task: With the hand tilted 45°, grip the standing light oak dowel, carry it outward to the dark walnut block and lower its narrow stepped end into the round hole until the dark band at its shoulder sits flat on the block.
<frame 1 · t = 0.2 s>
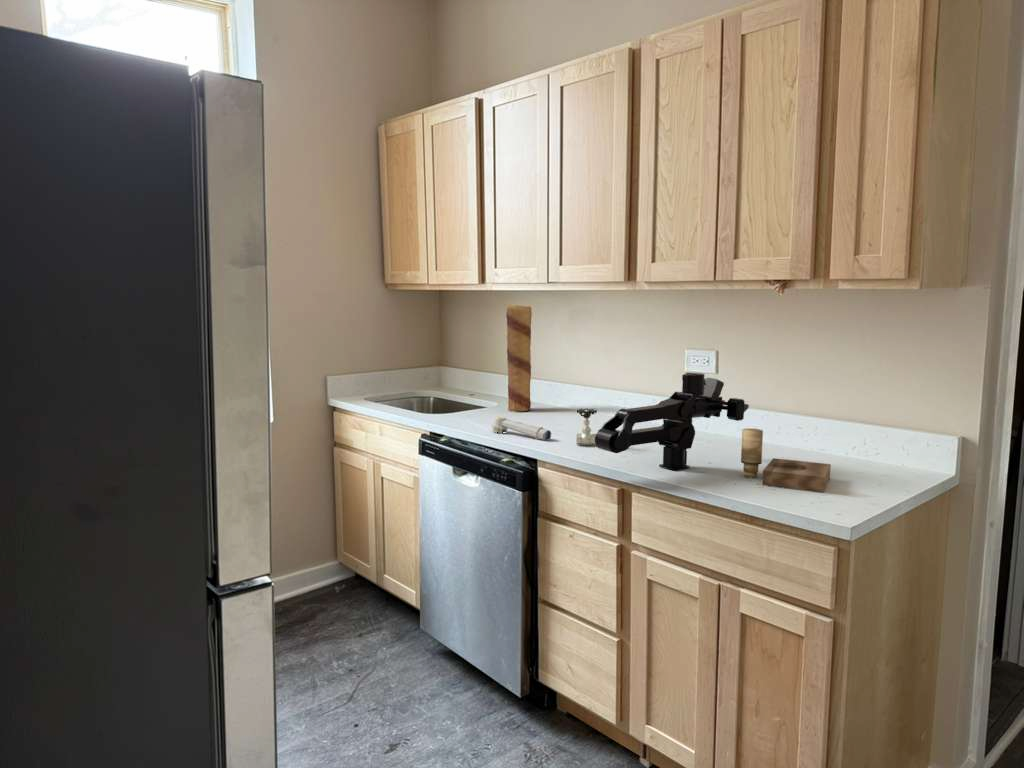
hand: (736, 404, 221), 17 cm above the counter, tool horizontal, fingers open, 9 cm apart
off-white plastic cylinder: (520, 437, 257), on the counter
wafer roll: (518, 410, 312), on the counter
seat block: (788, 480, 195), on the counter
valve: (586, 446, 241), on the counter
dowel: (750, 476, 200), on the counter
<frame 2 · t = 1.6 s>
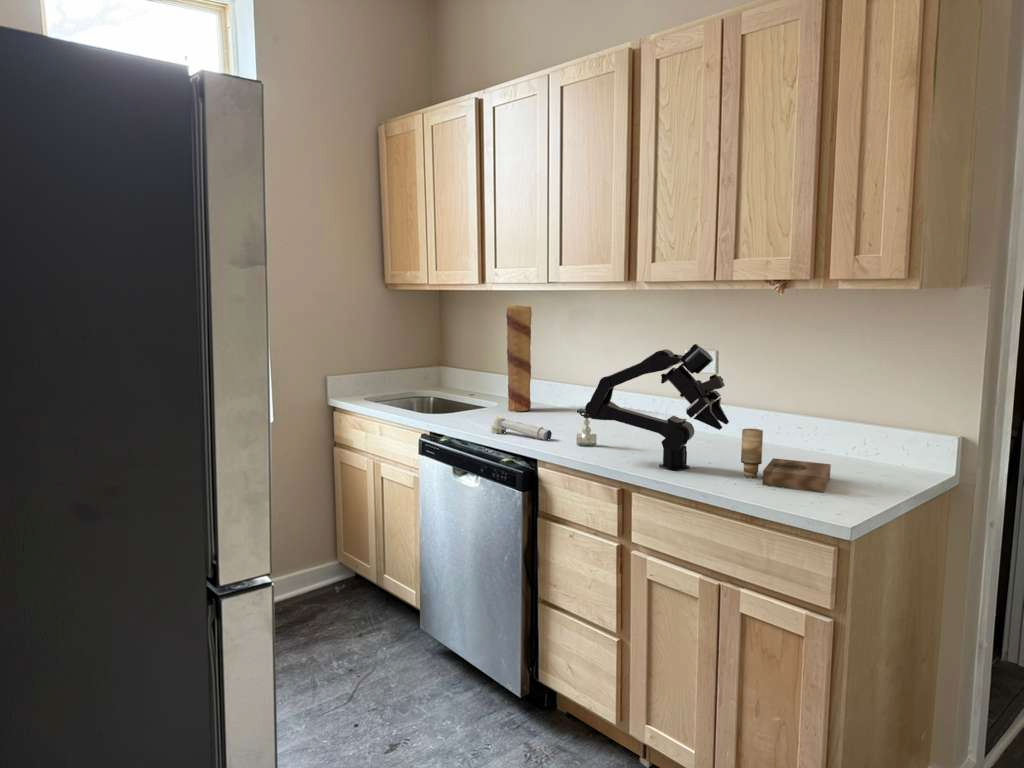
hand: (724, 426, 202), 13 cm above the counter, tool tilted 45°, fingers open, 9 cm apart
nothing on the counter moved.
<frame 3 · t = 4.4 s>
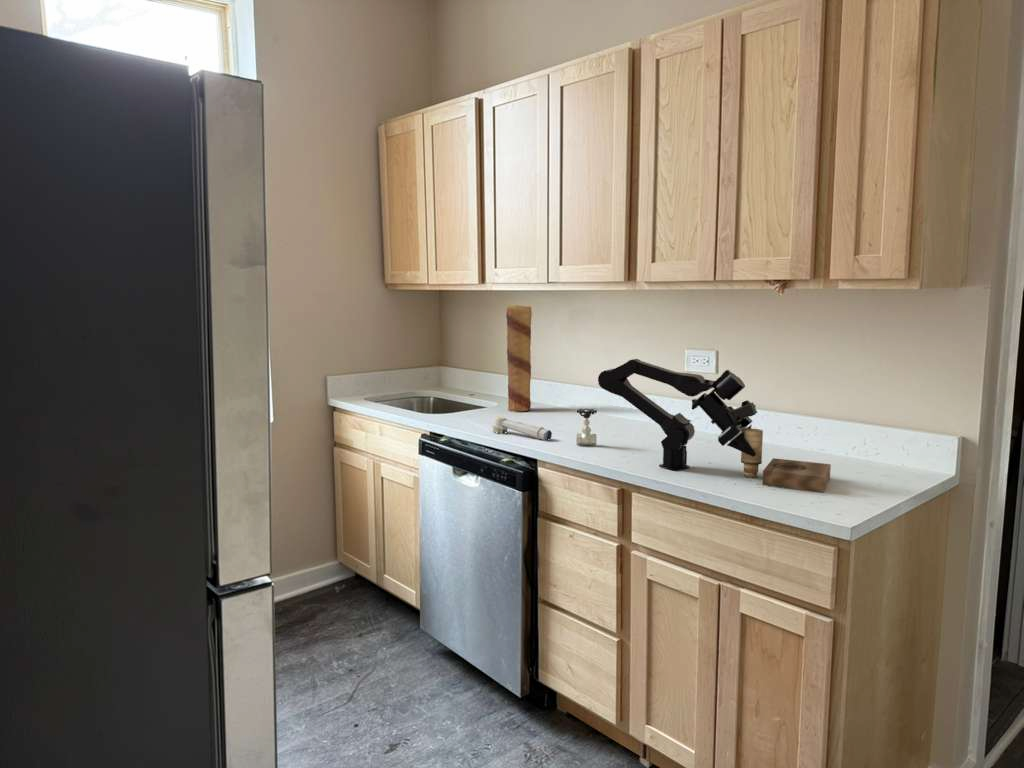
hand: (756, 453, 198), 7 cm above the counter, tool tilted 45°, fingers closed on dowel, 5 cm apart
dowel: (750, 476, 200), on the counter, touching gripper
everything else where it was.
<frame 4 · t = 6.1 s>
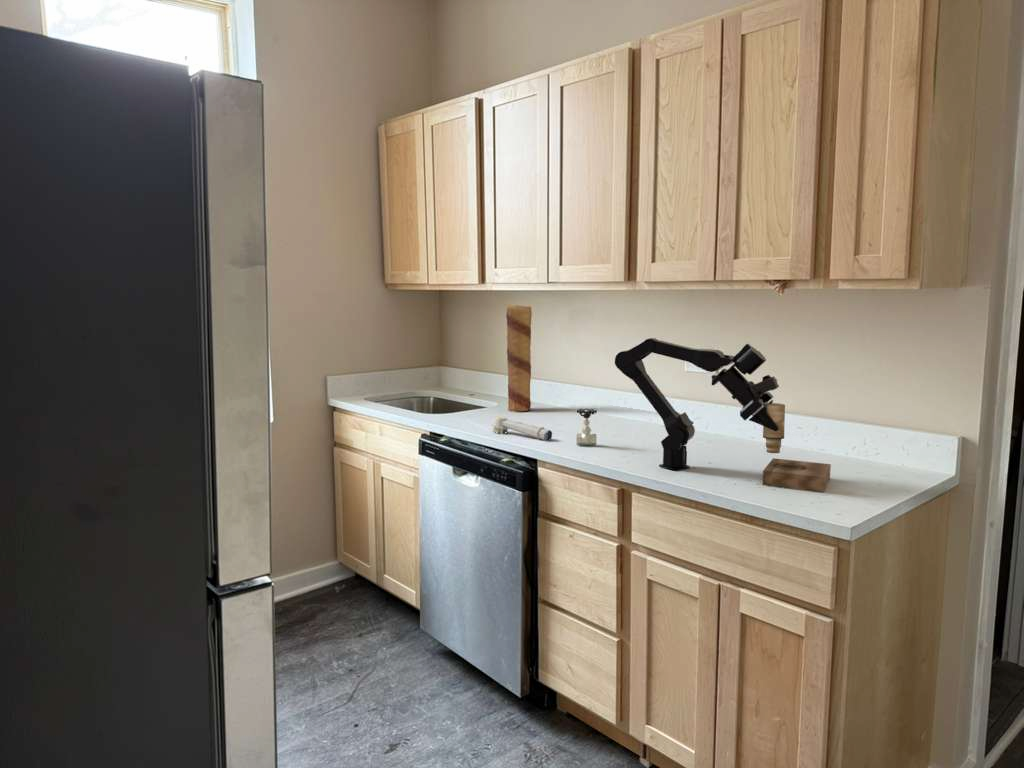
hand: (779, 428, 195), 14 cm above the counter, tool tilted 45°, fingers closed on dowel, 5 cm apart
dowel: (773, 451, 196), point 8 cm above the counter, touching gripper
everything else where it was.
when the fingers open (7 cm above the counter, at t = 8.3 s): dowel stays where it is, resting on seat block.
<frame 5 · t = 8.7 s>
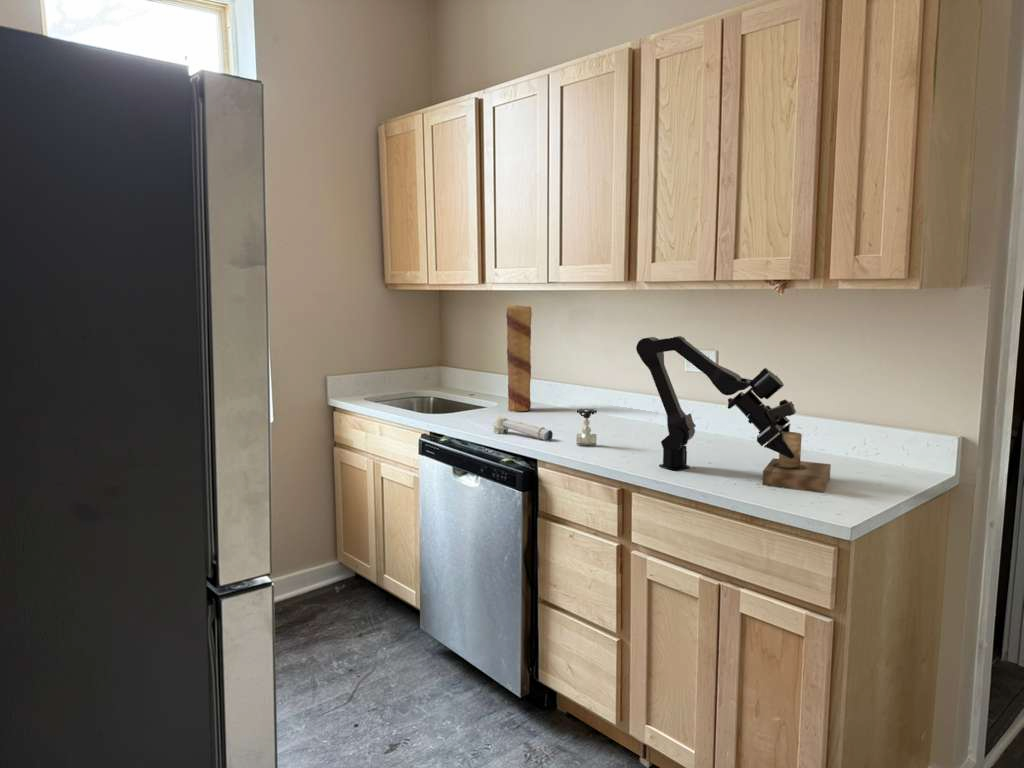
hand: (795, 454, 193), 8 cm above the counter, tool tilted 45°, fingers open, 9 cm apart
dowel: (788, 480, 195), resting on seat block
everything else where it was.
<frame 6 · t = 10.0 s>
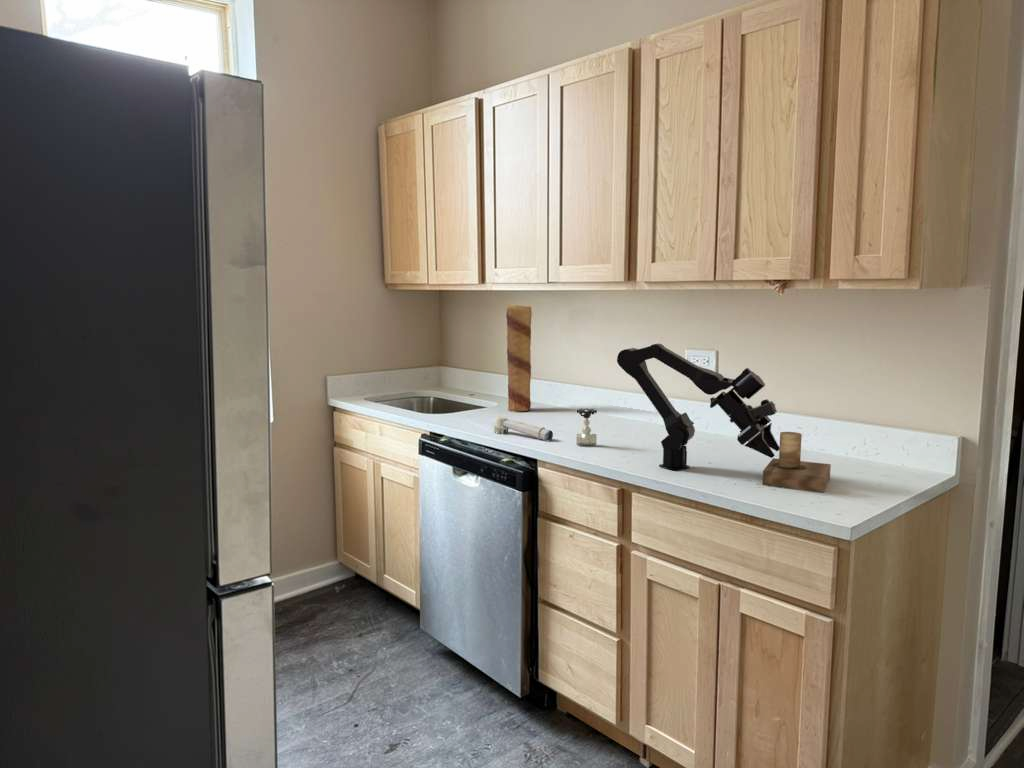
hand: (775, 453, 196), 7 cm above the counter, tool tilted 45°, fingers open, 9 cm apart
nothing on the counter moved.
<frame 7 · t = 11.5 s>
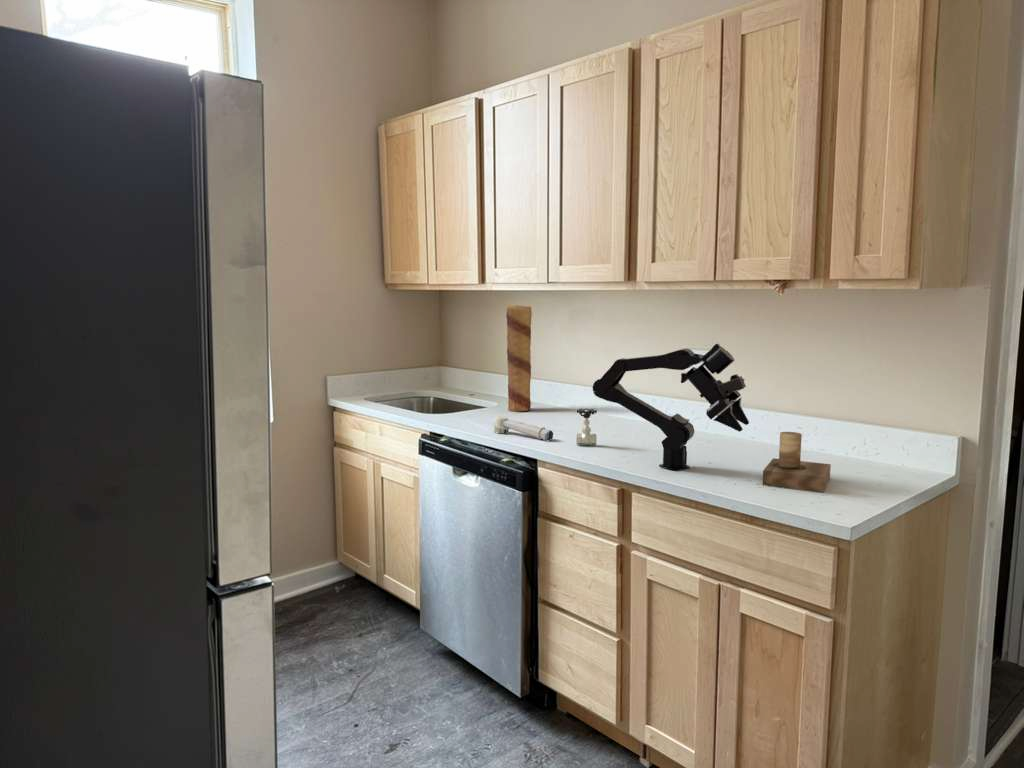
hand: (744, 427, 200), 14 cm above the counter, tool tilted 45°, fingers open, 9 cm apart
nothing on the counter moved.
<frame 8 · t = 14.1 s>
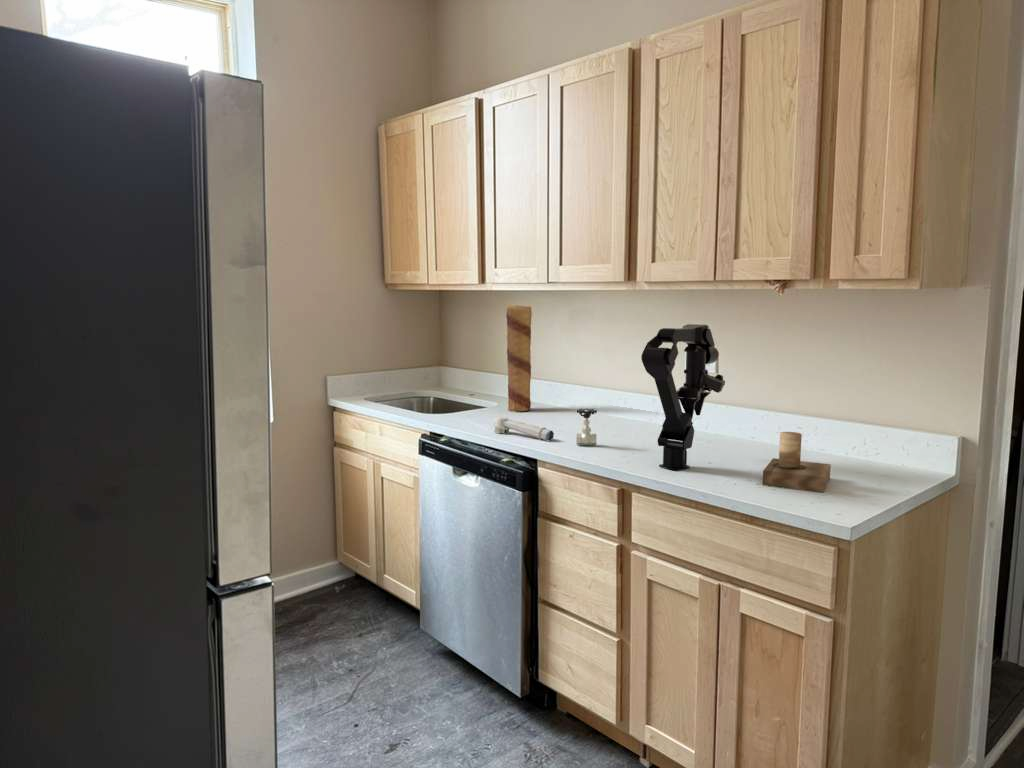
hand: (694, 417, 218), 13 cm above the counter, tool pointing down, fingers open, 9 cm apart
at the end: dowel 0.1 cm off-centre on the seat block, point 0.0 cm above the seat block's base; dowel tilted 0°; the gripper is holding nothing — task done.
